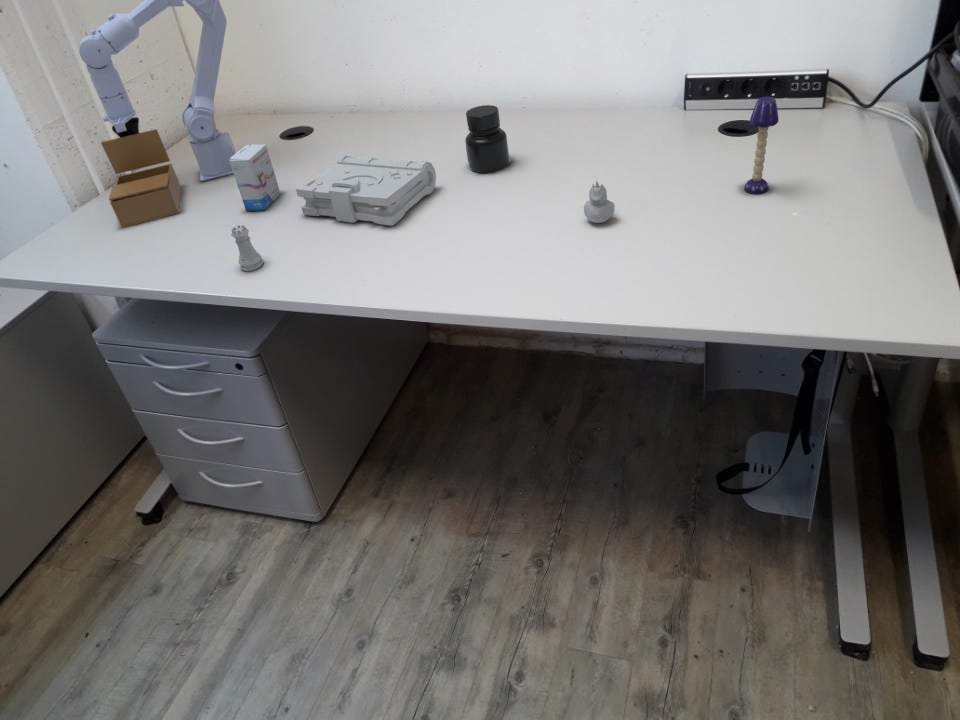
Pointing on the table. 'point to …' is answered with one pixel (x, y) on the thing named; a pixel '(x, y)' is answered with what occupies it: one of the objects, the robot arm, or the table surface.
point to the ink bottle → (486, 140)
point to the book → (367, 189)
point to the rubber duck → (598, 205)
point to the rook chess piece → (246, 250)
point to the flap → (135, 151)
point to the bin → (146, 195)
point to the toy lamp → (761, 141)
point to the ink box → (255, 177)
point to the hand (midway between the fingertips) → (138, 152)
